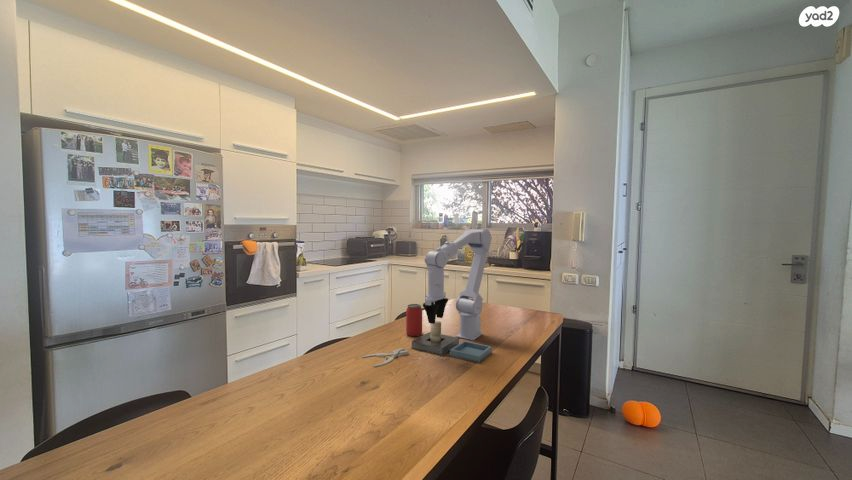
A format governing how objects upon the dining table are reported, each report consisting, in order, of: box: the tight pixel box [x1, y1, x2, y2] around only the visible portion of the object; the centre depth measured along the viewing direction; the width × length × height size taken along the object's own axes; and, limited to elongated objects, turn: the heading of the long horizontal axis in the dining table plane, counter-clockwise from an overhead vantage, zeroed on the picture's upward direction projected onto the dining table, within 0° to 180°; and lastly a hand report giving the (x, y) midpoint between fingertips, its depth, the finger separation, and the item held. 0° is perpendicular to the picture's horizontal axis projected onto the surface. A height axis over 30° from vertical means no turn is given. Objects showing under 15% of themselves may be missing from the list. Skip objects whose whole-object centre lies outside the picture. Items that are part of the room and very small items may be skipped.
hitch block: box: [411, 331, 460, 356], centre depth 129 cm, size 13×13×2 cm
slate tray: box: [449, 340, 493, 364], centre depth 121 cm, size 11×11×2 cm
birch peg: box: [429, 320, 442, 343], centre depth 129 cm, size 4×4×9 cm
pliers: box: [361, 347, 410, 368], centre depth 118 cm, size 10×2×15 cm
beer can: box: [405, 303, 423, 337], centre depth 142 cm, size 7×7×12 cm
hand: (435, 320), depth 127 cm, fingers open, 7 cm apart
